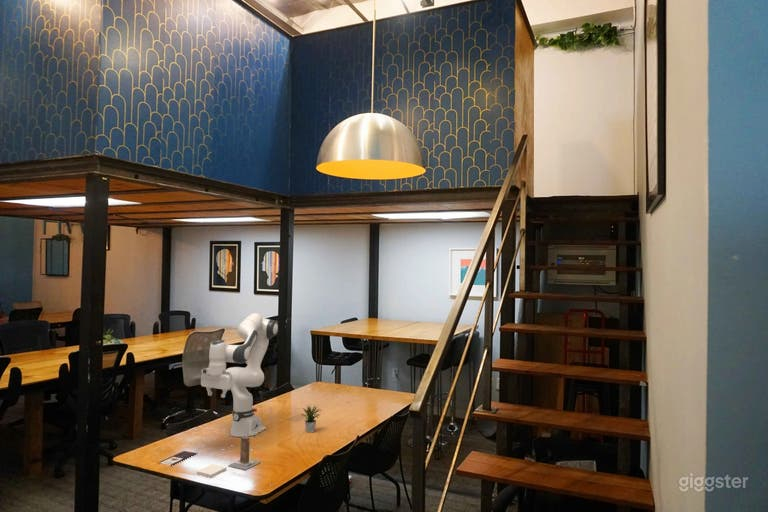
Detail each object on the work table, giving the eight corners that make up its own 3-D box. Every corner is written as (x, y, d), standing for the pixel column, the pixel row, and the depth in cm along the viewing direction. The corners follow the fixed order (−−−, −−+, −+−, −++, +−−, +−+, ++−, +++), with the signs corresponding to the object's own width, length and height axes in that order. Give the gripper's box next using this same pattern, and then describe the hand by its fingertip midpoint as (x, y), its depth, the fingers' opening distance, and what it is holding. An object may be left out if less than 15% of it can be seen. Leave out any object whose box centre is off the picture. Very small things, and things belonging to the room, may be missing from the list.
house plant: (317, 436, 289) (317, 408, 290) (295, 434, 292) (296, 407, 293) (325, 429, 303) (325, 402, 304) (303, 427, 306) (304, 401, 307)
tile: (212, 464, 240) (196, 471, 231) (226, 467, 236) (210, 474, 227) (212, 468, 240) (196, 475, 231) (226, 471, 236) (210, 479, 227)
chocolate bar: (197, 453, 258) (171, 465, 241) (197, 455, 258) (171, 467, 241) (183, 450, 261) (157, 462, 244) (183, 452, 261) (157, 464, 244)
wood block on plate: (242, 460, 248) (243, 434, 249) (254, 463, 245) (255, 437, 246) (234, 464, 243) (234, 438, 244) (246, 467, 240) (247, 440, 240)
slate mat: (243, 459, 251) (243, 458, 251) (260, 463, 247) (260, 462, 247) (228, 466, 241) (228, 465, 242) (245, 470, 237) (245, 469, 237)
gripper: (236, 371, 262) (235, 397, 262) (207, 367, 271) (207, 393, 271) (227, 373, 257) (226, 400, 256) (199, 369, 266) (198, 395, 265)
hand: (216, 396), depth 263 cm, fingers open, 8 cm apart
